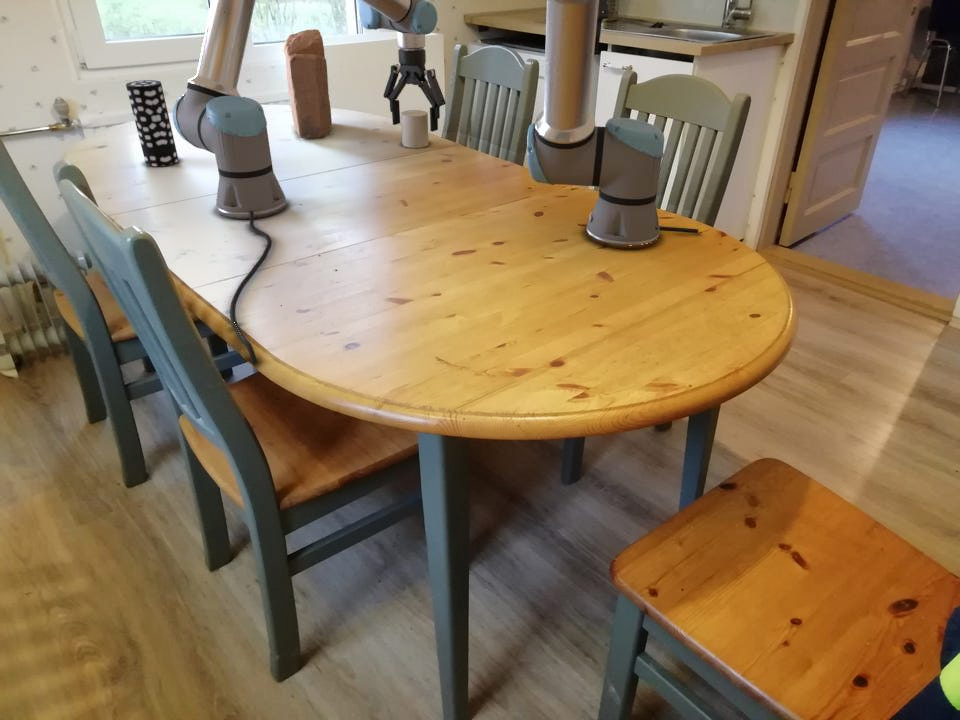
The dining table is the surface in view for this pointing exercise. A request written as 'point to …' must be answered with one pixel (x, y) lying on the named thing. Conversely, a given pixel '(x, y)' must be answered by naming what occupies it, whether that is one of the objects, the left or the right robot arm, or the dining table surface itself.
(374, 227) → the dining table surface
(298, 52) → the stone
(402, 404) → the dining table surface
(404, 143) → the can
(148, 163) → the black white spotted cylinder
